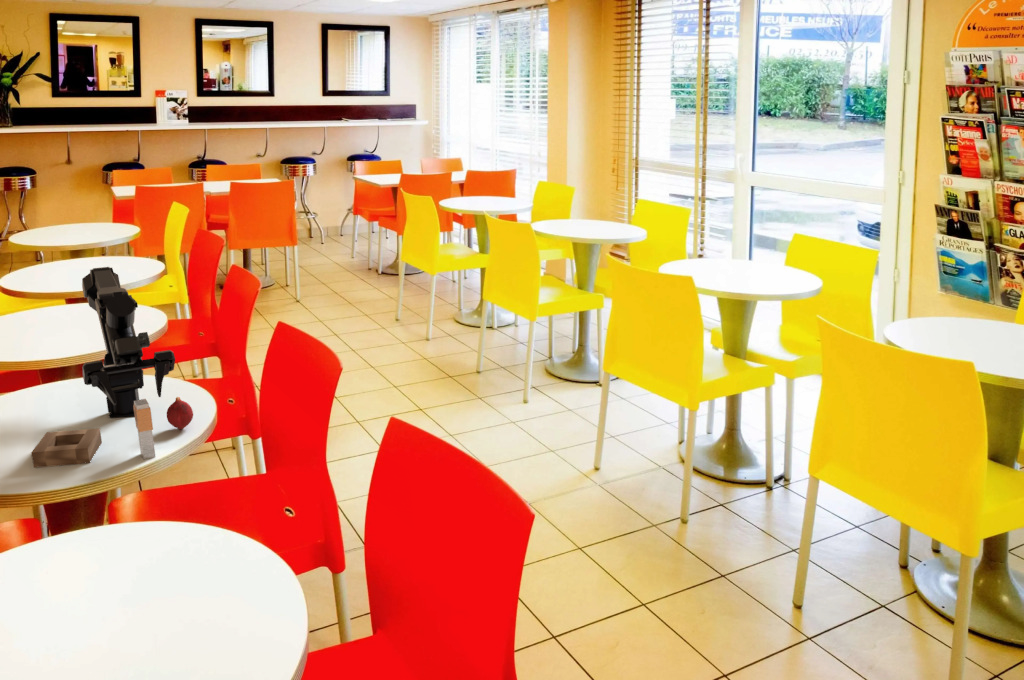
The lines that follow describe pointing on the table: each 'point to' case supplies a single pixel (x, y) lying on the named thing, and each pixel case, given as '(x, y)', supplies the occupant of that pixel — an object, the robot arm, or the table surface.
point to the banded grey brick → (144, 428)
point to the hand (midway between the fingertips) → (137, 400)
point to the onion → (179, 414)
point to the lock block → (66, 447)
